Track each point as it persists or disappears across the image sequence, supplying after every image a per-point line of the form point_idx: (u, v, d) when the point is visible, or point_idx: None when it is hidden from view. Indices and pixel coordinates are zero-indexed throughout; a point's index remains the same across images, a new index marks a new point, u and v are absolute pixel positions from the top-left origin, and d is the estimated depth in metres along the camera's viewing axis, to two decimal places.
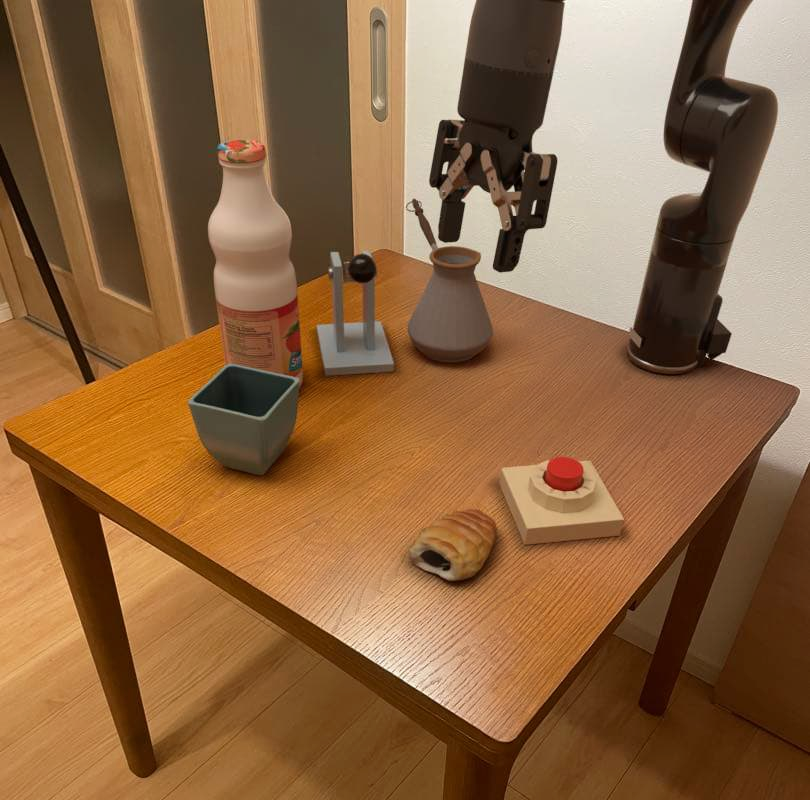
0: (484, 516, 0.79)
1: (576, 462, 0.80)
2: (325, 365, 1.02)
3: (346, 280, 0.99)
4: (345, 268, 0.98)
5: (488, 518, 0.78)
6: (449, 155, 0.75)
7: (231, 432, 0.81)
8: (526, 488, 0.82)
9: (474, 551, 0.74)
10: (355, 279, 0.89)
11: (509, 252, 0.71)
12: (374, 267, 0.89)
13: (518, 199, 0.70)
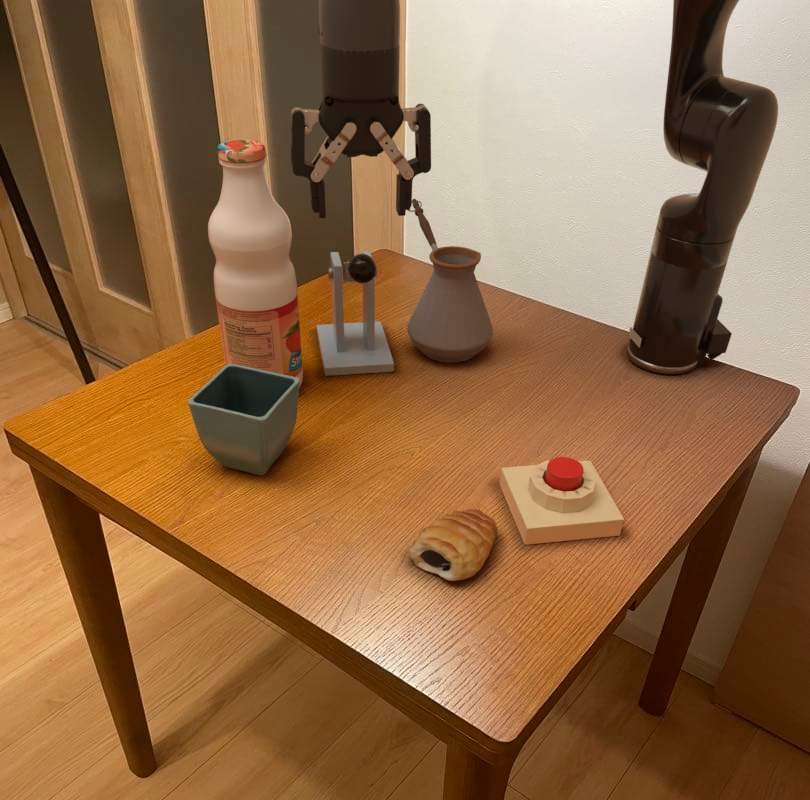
0: (484, 516, 0.79)
1: (576, 462, 0.80)
2: (325, 365, 1.02)
3: (346, 280, 0.99)
4: (345, 268, 0.98)
5: (488, 518, 0.78)
6: (416, 137, 0.82)
7: (231, 432, 0.81)
8: (526, 488, 0.82)
9: (474, 551, 0.74)
10: (355, 279, 0.89)
11: (310, 194, 0.84)
12: (374, 267, 0.89)
13: (321, 154, 0.81)
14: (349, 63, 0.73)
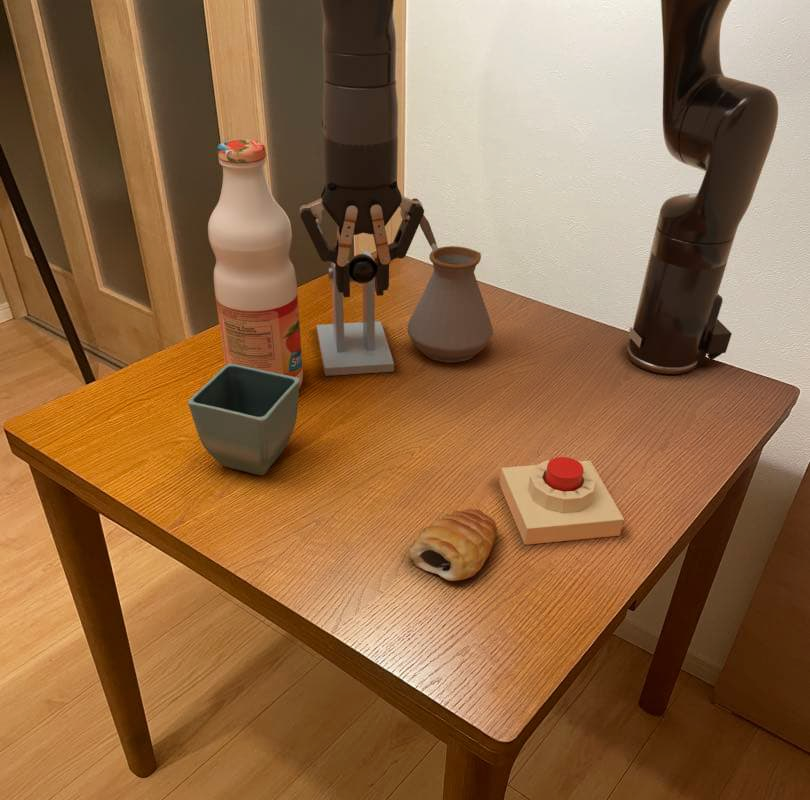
0: (484, 516, 0.79)
1: (576, 462, 0.80)
2: (325, 365, 1.02)
3: None
4: None
5: (488, 518, 0.78)
6: (402, 225, 0.87)
7: (231, 432, 0.81)
8: (526, 488, 0.82)
9: (474, 551, 0.74)
10: (355, 279, 0.89)
11: None
12: (374, 267, 0.89)
13: (339, 240, 0.87)
14: (350, 155, 0.78)
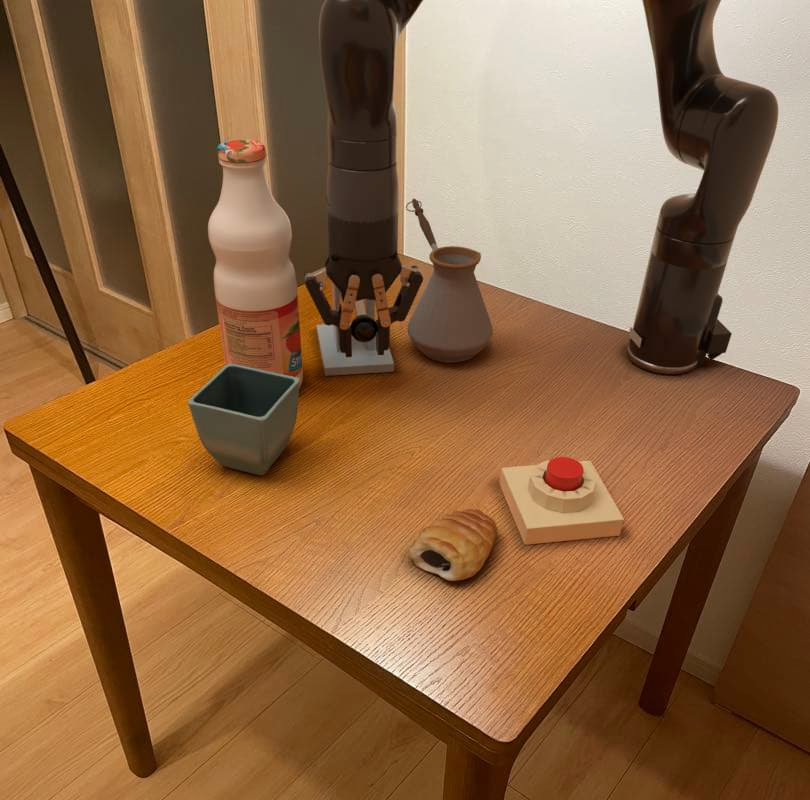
0: (484, 516, 0.79)
1: (576, 462, 0.80)
2: (325, 365, 1.02)
3: None
4: None
5: (488, 518, 0.78)
6: (402, 290, 0.92)
7: (231, 432, 0.81)
8: (526, 488, 0.82)
9: (474, 551, 0.74)
10: None
11: (338, 336, 0.94)
12: (375, 332, 0.93)
13: (341, 306, 0.91)
14: (353, 231, 0.82)
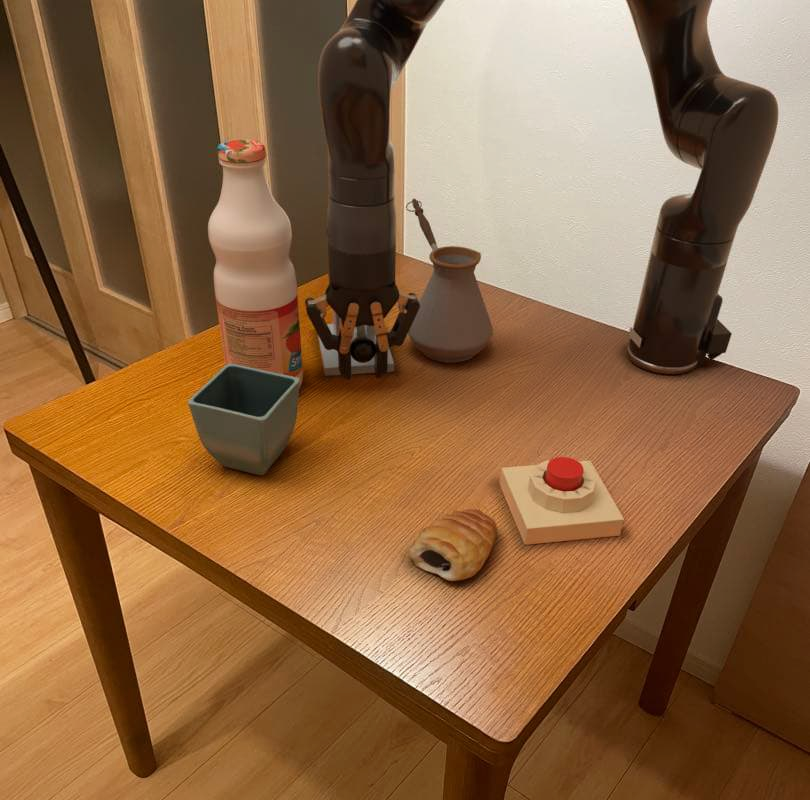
0: (484, 516, 0.79)
1: (576, 462, 0.80)
2: (325, 365, 1.02)
3: None
4: None
5: (488, 518, 0.78)
6: (400, 316, 0.95)
7: (231, 432, 0.81)
8: (526, 488, 0.82)
9: (474, 551, 0.74)
10: None
11: (338, 359, 0.98)
12: (374, 355, 0.97)
13: (341, 331, 0.94)
14: (352, 262, 0.86)
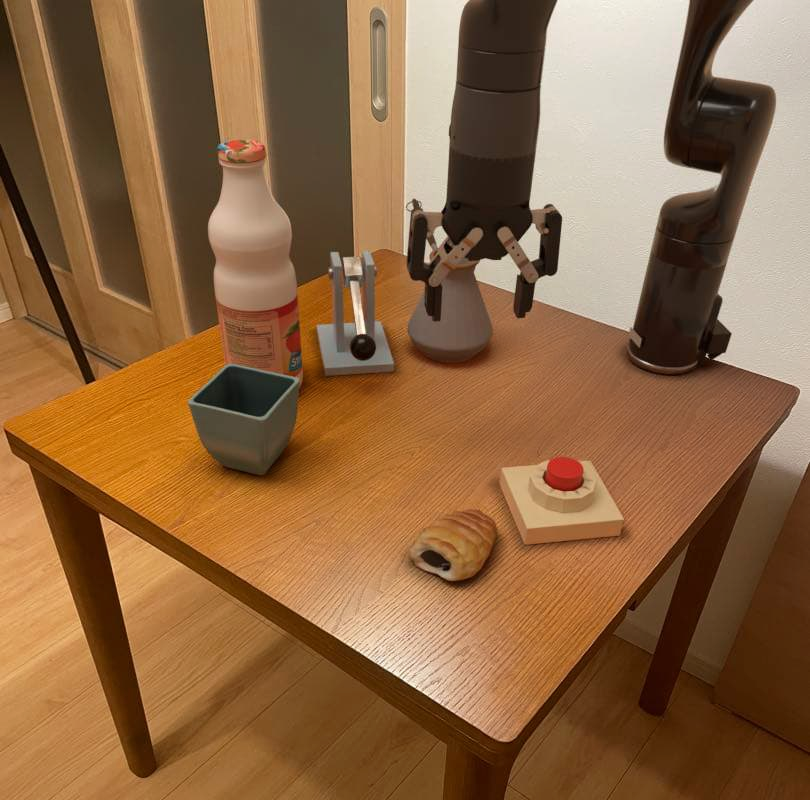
0: (484, 516, 0.79)
1: (576, 462, 0.80)
2: (325, 365, 1.02)
3: (345, 286, 1.00)
4: (346, 279, 0.99)
5: (488, 518, 0.78)
6: (543, 239, 0.75)
7: (231, 432, 0.81)
8: (526, 488, 0.82)
9: (474, 551, 0.74)
10: None
11: (424, 296, 0.78)
12: (374, 353, 0.96)
13: (441, 258, 0.75)
14: (484, 170, 0.67)
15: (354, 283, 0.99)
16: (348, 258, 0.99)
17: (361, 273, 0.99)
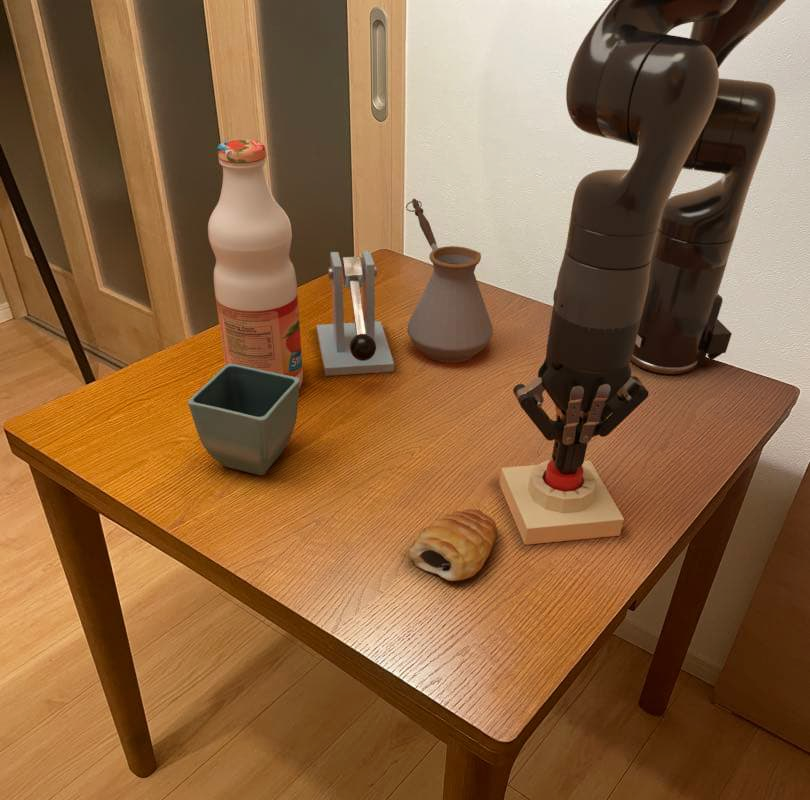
0: (484, 516, 0.79)
1: None
2: (325, 365, 1.02)
3: (345, 286, 1.00)
4: (346, 279, 0.99)
5: (488, 518, 0.78)
6: (614, 401, 0.76)
7: (231, 432, 0.81)
8: (526, 488, 0.82)
9: (474, 551, 0.74)
10: None
11: (553, 449, 0.79)
12: (374, 353, 0.96)
13: (562, 419, 0.75)
14: (593, 339, 0.66)
15: (354, 283, 0.99)
16: (348, 258, 0.99)
17: (361, 273, 0.99)
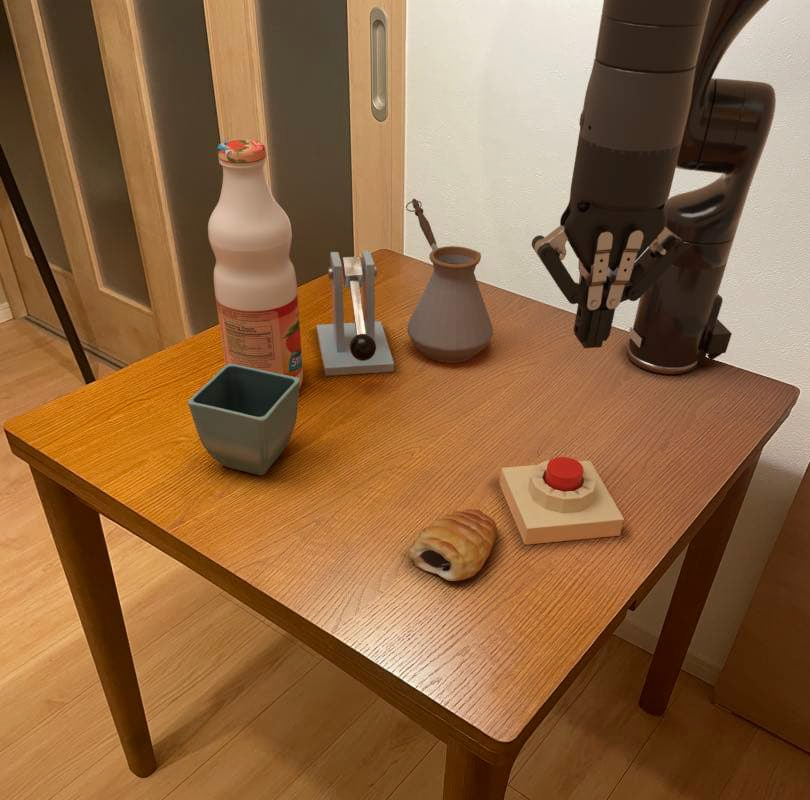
0: (484, 516, 0.79)
1: (576, 462, 0.80)
2: (325, 365, 1.02)
3: (345, 286, 1.00)
4: (346, 279, 0.99)
5: (488, 518, 0.78)
6: (646, 259, 0.67)
7: (231, 432, 0.81)
8: (526, 488, 0.82)
9: (474, 551, 0.74)
10: None
11: (576, 320, 0.70)
12: (374, 353, 0.96)
13: (586, 278, 0.66)
14: (626, 165, 0.57)
15: (354, 283, 0.99)
16: (348, 258, 0.99)
17: (361, 273, 0.99)
